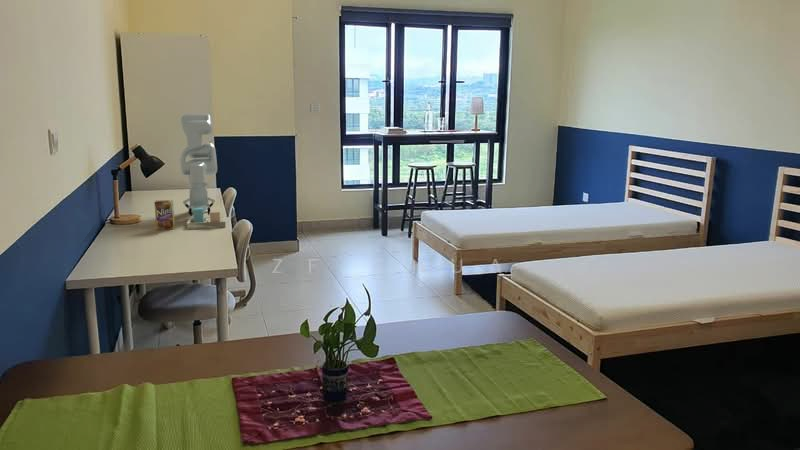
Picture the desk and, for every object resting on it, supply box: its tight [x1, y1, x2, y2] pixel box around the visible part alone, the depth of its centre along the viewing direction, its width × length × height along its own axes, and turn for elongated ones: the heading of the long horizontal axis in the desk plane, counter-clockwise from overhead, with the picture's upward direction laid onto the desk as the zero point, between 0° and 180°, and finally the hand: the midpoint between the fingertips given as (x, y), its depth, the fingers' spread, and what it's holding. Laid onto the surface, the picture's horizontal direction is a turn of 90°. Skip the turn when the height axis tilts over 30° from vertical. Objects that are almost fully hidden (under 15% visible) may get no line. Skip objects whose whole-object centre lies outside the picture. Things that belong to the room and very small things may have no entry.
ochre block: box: [209, 210, 221, 222], centre depth 337 cm, size 5×5×8 cm
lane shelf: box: [186, 217, 227, 230], centre depth 337 cm, size 10×20×3 cm, turn 105°
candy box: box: [153, 199, 176, 230], centre depth 329 cm, size 9×4×15 cm, turn 98°
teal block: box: [192, 207, 205, 223], centre depth 350 cm, size 16×5×8 cm, turn 15°
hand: (199, 215), depth 356 cm, fingers open, 9 cm apart
